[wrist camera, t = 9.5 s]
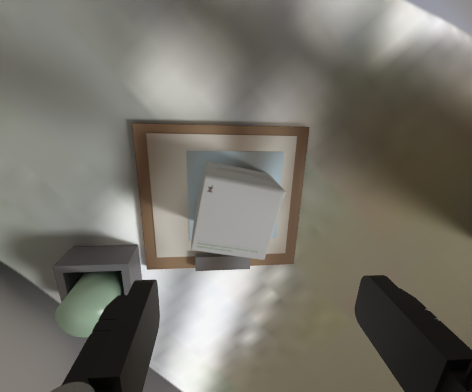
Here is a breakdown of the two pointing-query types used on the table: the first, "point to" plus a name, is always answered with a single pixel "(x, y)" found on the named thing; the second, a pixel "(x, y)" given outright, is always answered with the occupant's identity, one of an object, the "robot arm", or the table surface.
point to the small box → (236, 211)
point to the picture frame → (189, 181)
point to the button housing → (97, 265)
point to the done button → (88, 302)
